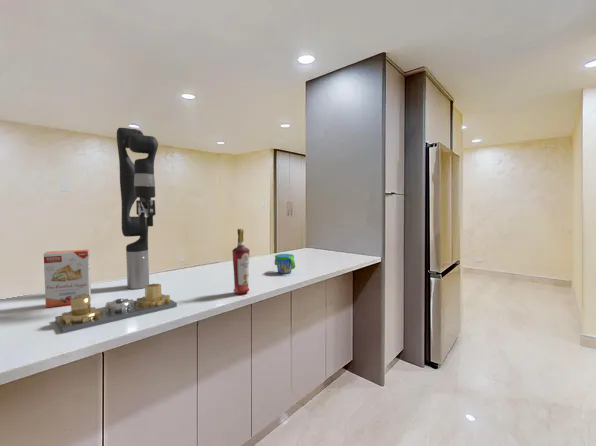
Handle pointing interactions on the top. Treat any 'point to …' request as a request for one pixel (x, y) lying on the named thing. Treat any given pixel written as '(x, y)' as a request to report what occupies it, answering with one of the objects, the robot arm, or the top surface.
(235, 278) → the liquor
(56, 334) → the top surface
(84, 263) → the cracker box
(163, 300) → the gear
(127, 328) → the top surface
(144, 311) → the carrier plate
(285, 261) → the snack cup
